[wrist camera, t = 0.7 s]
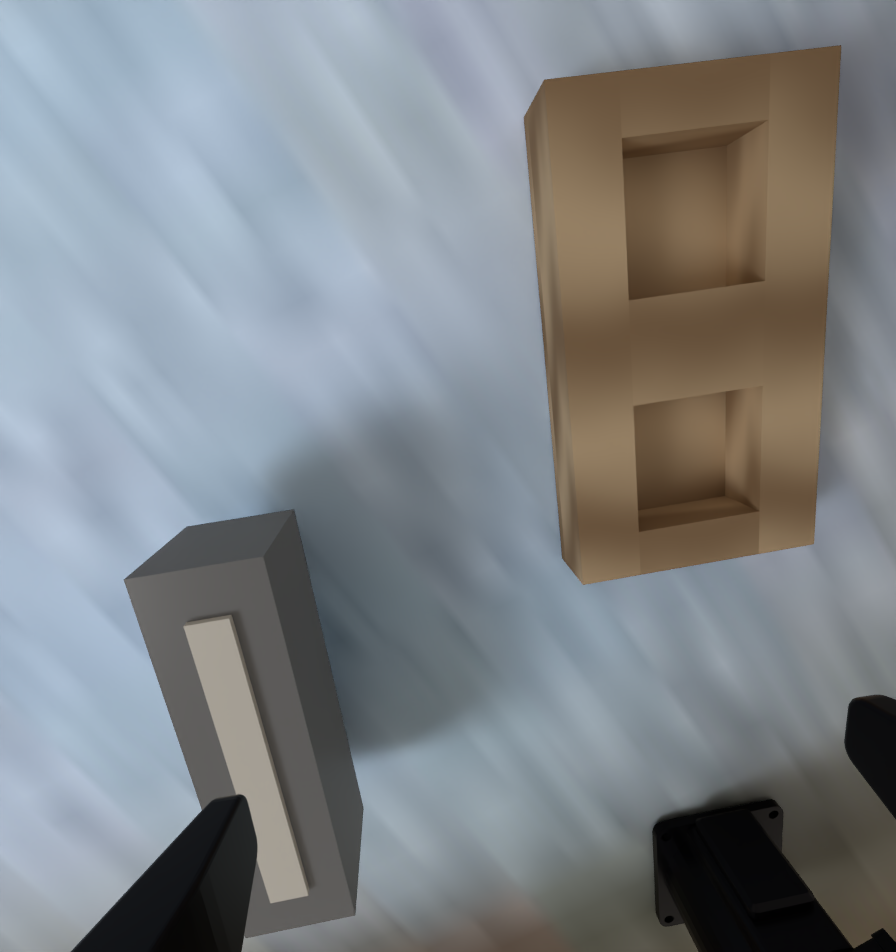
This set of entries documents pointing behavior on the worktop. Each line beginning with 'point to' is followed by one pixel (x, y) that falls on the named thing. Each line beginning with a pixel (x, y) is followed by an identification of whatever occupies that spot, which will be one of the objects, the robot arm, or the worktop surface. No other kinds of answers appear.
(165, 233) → the worktop surface
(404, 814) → the worktop surface
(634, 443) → the socket board
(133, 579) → the grey block
